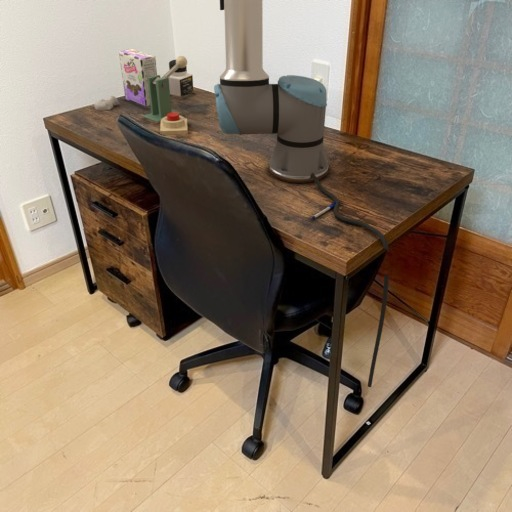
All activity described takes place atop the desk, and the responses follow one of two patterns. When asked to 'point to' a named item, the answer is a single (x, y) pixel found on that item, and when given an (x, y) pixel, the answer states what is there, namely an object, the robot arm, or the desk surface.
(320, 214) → the ballpoint pen
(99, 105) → the pale two-lobed sculpture
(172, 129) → the button box
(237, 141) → the desk surface
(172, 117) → the button
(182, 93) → the medicine bottle
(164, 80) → the bracket
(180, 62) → the lever
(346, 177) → the desk surface
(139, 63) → the candy box
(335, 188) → the desk surface
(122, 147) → the desk surface
